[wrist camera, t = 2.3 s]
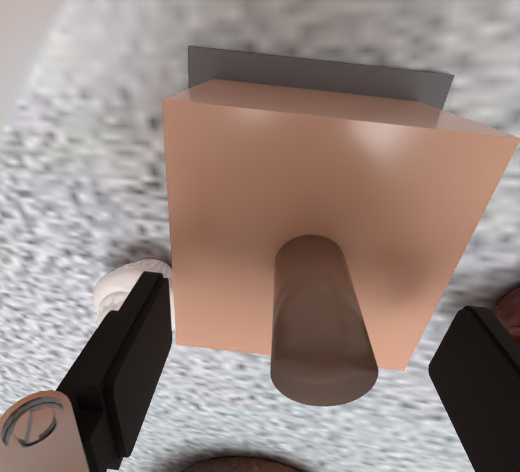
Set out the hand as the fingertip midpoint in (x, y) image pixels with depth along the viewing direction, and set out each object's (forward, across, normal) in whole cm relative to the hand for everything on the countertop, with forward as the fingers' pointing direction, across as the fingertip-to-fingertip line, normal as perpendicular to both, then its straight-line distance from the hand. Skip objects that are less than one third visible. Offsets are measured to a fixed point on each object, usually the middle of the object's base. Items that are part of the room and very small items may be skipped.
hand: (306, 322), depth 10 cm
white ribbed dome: (+12, +10, +8) cm, 18 cm away
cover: (+11, 0, 0) cm, 11 cm away
